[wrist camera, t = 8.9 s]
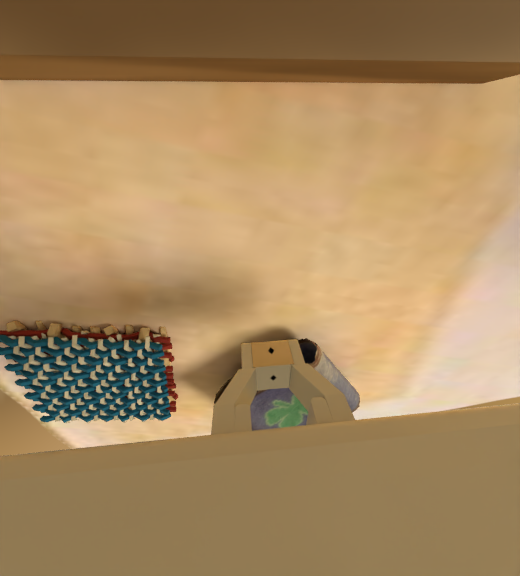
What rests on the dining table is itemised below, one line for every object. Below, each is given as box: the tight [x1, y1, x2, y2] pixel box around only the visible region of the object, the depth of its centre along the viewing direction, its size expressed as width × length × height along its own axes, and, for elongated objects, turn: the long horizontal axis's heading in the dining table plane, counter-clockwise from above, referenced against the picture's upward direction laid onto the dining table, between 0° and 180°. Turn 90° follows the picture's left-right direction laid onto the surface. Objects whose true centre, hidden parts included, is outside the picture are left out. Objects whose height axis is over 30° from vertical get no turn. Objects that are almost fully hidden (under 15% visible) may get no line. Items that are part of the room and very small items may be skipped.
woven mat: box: [0, 321, 178, 423], centre depth 17 cm, size 10×11×2 cm
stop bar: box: [0, 0, 520, 83], centre depth 7 cm, size 3×20×3 cm, turn 91°
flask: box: [214, 339, 360, 431], centre depth 19 cm, size 9×3×11 cm
